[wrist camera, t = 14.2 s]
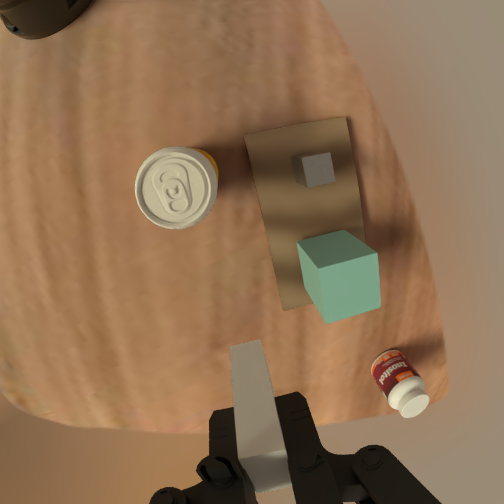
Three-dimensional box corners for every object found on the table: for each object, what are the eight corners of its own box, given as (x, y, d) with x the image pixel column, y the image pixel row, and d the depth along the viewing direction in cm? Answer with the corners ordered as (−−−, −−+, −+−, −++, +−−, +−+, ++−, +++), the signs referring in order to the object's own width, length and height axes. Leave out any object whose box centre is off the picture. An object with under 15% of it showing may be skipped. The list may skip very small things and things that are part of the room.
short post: (290, 156, 35) (301, 157, 30) (315, 151, 35) (330, 152, 30) (296, 182, 36) (307, 187, 31) (320, 177, 36) (335, 181, 31)
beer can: (209, 140, 34) (202, 133, 20) (225, 191, 36) (228, 217, 22) (158, 158, 34) (119, 163, 20) (175, 207, 36) (147, 244, 22)
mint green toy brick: (296, 241, 37) (318, 268, 28) (344, 229, 37) (377, 252, 29) (304, 287, 39) (326, 324, 30) (350, 275, 39) (380, 307, 30)
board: (243, 135, 35) (244, 135, 34) (341, 117, 35) (345, 116, 34) (282, 306, 42) (284, 311, 41) (366, 283, 42) (370, 286, 41)
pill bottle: (393, 341, 46) (427, 383, 35) (407, 360, 48) (438, 400, 37) (363, 366, 47) (391, 411, 36) (378, 383, 48) (405, 426, 38)
